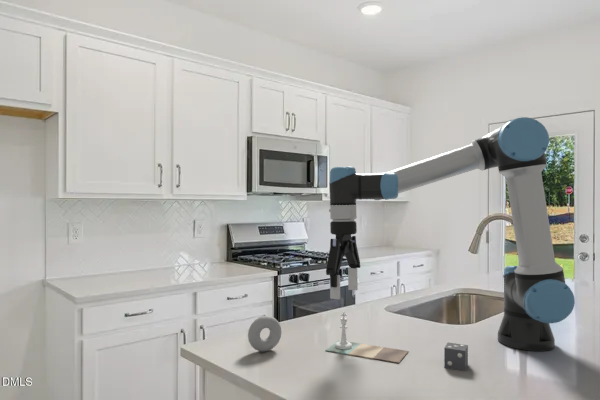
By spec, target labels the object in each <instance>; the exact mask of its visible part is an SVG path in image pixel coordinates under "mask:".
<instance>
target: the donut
mask: <svg viewBox="0 0 600 400" xmlns="http://www.w3.org/2000/svg"><path fill="white" fill-rule="evenodd" d="M264 329H268V330H269V335H268V336H267V337H266V338H262V337H261V332H262V331H263V330H264ZM281 337H282V326H281V324H280V322H279V321H278V319H276V318H275V317H273V316H271V315H262V316H260V317H257V318H256V319H254V320H253V322H252V323H251V325H250V327H249V328H248V333H247V338H248V342H249V345H250V346H251V347H252V348H253V349H254V350H255V351H258V352H260V353H261V352H264V353H265V352H268V351H271V350H272V349H274V348H275V347H276V346H277V345H278V344H279V342H280V340H281Z"/></svg>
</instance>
